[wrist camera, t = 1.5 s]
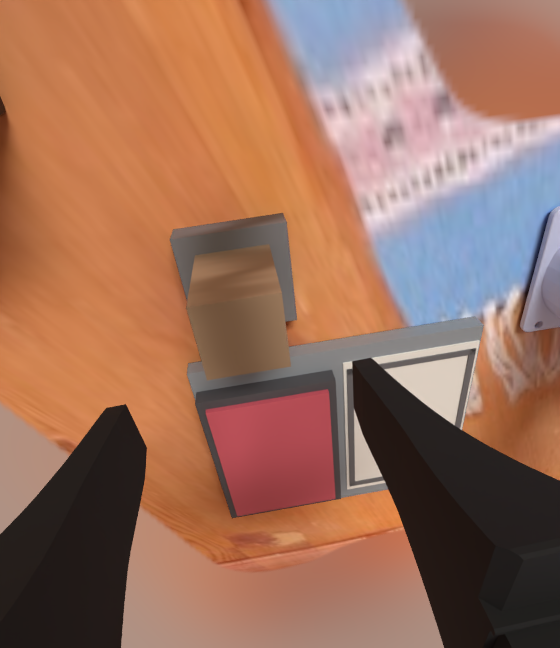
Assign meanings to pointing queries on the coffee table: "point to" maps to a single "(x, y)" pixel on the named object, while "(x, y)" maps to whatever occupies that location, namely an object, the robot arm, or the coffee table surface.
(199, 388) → the stamp board
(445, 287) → the coffee table surface
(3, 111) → the phone stand
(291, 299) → the stamp
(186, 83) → the coffee table surface
